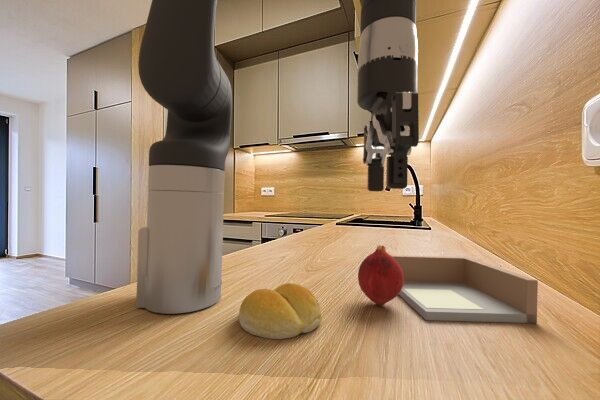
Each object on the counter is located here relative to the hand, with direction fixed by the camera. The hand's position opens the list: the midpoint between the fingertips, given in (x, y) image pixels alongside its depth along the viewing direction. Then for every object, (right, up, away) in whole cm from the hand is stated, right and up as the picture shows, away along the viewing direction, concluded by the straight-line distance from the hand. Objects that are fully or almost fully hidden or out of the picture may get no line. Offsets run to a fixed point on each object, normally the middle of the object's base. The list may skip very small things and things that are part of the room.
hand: (384, 190), depth 35 cm
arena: (+10, -16, +2) cm, 19 cm away
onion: (-1, -16, 0) cm, 16 cm away
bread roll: (-13, -15, -5) cm, 21 cm away
